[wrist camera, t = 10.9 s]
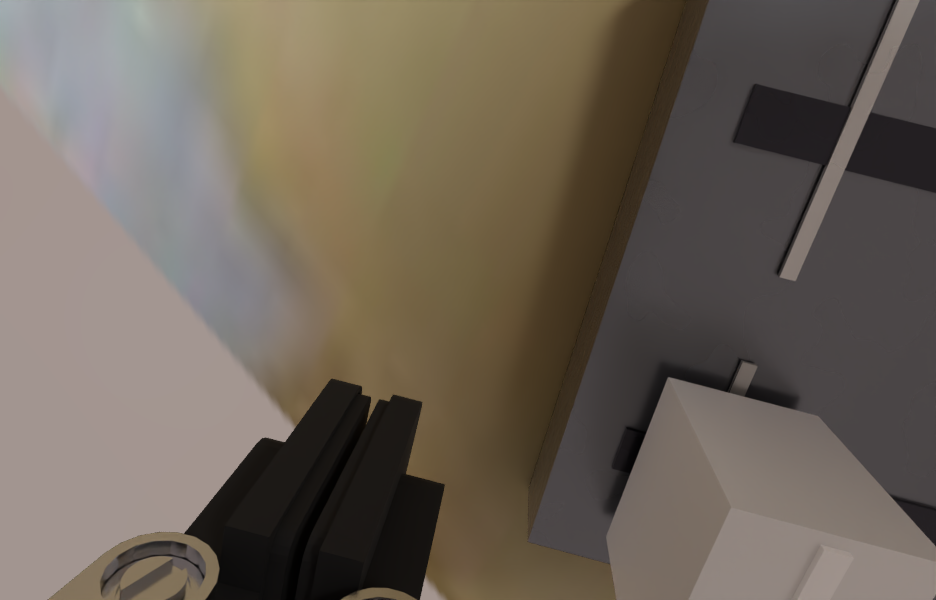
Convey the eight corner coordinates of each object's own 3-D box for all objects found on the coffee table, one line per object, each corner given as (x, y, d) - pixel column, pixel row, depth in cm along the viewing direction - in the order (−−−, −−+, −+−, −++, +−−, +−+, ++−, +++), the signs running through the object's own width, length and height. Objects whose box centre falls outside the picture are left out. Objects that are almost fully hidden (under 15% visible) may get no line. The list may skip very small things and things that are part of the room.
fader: (667, 376, 12) (733, 511, 8) (817, 416, 12) (959, 571, 8) (606, 536, 13) (635, 719, 9) (740, 572, 13) (828, 772, 9)
